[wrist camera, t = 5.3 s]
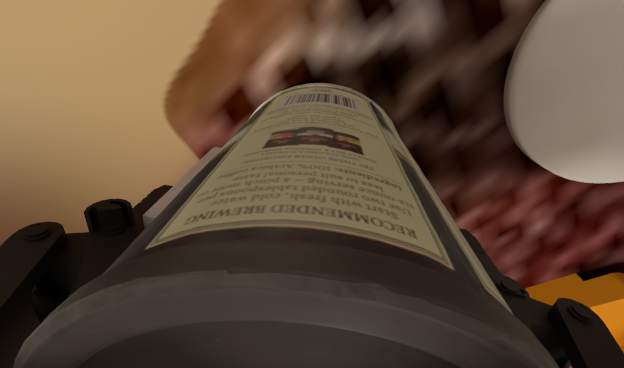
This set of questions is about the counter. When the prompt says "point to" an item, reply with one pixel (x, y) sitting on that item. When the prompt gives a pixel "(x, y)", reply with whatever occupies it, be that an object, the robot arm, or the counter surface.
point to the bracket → (589, 298)
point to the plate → (570, 90)
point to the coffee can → (295, 262)
